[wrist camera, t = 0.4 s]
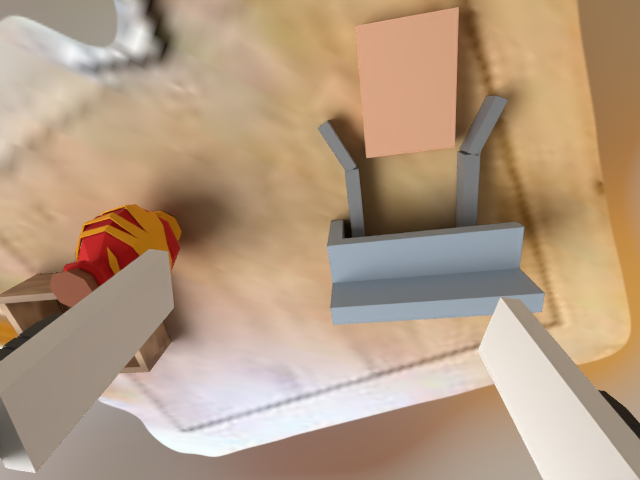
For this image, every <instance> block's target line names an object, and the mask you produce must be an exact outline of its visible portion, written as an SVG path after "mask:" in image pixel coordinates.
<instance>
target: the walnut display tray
mask: <svg viewBox="0 0 640 480" xmlns="http://www.w3.org/2000/svg"><path fill="white" fill-rule="evenodd" d="M53 274H57V273H50V274H40V275H35V276H33V277H31V278H29V279H27V280H26V281H24V282H22V283H20V284H18V285H17V286H15V287H13V288H11V289H9V290H7V291H6V292H4V293H2V294H0V307H1V309H2V310H3V312H4V313H5V315H6V317H7V318H8V320H9V321H10V323H11V324H12V326H13V327H14V329H15V330H16V332H17V333H18V335H19V334H21V333H22V332H24V331H25V330H26V329H28V328H29V327H31V326H32V325H33V324H35V323H36V322H38V321H41V320H43V319H45V318H47V317H49V316H51V315H54V314H56V313H61V314H64V313H63V312H62V310H61V308H60V306H59V304H58V303H57V301H56V299H57V298H56V296H55V295H54V294H53V292H52V291H51V289H50V288H49V287H50V282H51V277H52V275H53ZM170 343H171V340H170V338H169V336H168V333H167V331H166V328H165V326H164V324H163V322H162V323H161V324H160V325H159V326H158V328H157V329H156V330H155V331H154V332H153V334H152V335H151V336H150V337H149V338H148V340H147V341H146V342H145V343H144V344H143V346H142V347H141V348H140V349H139V350H138V352H137V353H136V354H135V355H134V356H133V358H132V359H131V360H130V361H129V362H128V364H127V365H126V366H125V367H124V368H123V370H122V371H121V372H120V373H136V372H150V370H151V369H152V368H153V366H154V365H155V364H156V362H157V361H158V360H159V358H160V357H161V356H162V354H163V353H164V351H165V350H166V349H167V347H168V346H169V345H170Z"/></svg>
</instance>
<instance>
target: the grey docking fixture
mask: <svg viewBox="0 0 640 480" xmlns="http://www.w3.org/2000/svg"><path fill="white" fill-rule="evenodd" d="M507 101H508V100H507V99H504V98H502V97H499V96H486V98H485V100H484V102H483V104H482V106H481V108H480V110H479V112H478V114H477V116H476V118H475V120H474V122H473V124H472V126H471V128H470V130H469V131H468V133H467V135H466V137H465V139H464V141H463V143H462V145H461V147H460V149H461V150H463V151H460V152H458V154H457V194H456V228H447V229H437V230H427V231H416V232H406V233H396V234H386V235H376V236H366V237H365V230H364V220H363V210H362V199H361V189H360V179H359V168H358V165H356V162H355V160H354V159H353V157H352V156H351V154H350V153H349V151H348V149H347V148H346V146H345V145H344V143H343V142H342V140H341V139H340V137H339V135H338V134H337V132H336V131H335V129H334V128H333V126H332V124H331V123H330V121H329V120H328V121H327V122H325V123H324V124H323V125H321V126H320V127H319V128H318V130H319V131H320V133H321V134H322V136H323V137H324V139H325V140H326V142H327V143H328V145H329V146H330V148H331V149H332V151H333V152H334V154H335V155H336V157H337V159H338V160H339V162H340V163H341V165H342V166H343V168H344V169H345V177H346V186H347V195H348V203H349V212H350V221H351V230H352V238H346V239H345V232H344V224H343V220H336V221H331V225H330V231H329V237H328V244H327V249H328V255H329V262H330V269H331V275H332V282H333V286H332V296H331V307H330V309H331V315H332V321H333V325H338V324H354V323H371V322H387V321H403V320H420V319H436V318H452V317H469V316H485V315H493V313H494V311H495V309H496V306H497V304H498V302H499V299H500V297H506V298H513V299H520V300H521V301H522V302H523V303H524V304H525V305H526V306H527V308H528V309H529V310H530V311H531V312H532V313H534V312H542V308H543V302H544V296H545V293H544V292H543V291H542V290H541V289H540V288H539V287H538V286H537V285H536V284H535V283H534V282H533V281H532V280H531V279H530V278H529V277H528V276H527V275H526V274H525V273H524V272H523V271H522V270H521V269H520V260H521V252H522V243H523V235H524V226H522V225H521V224H519V223H518V222H507V223H497V224H487V225H477V208H478V189H479V171H480V152H481V150H482V148H483V146H484V144H485V142H486V141H487V139H488V137H489V135H490V133H491V131H492V129H493V127H494V126H495V124H496V122H497V120H498V118H499V116H500V114H501V113H502V111H503V109H504V107H505V105H506V103H507Z"/></svg>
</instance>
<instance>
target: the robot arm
mask: <svg viewBox="0 0 640 480" xmlns="http://www.w3.org/2000/svg"><path fill="white" fill-rule="evenodd" d="M173 309H174V300H173V291H172V282H171V273H170V264H169V255H168V251H161V250H154V249H149V250H147V251H146V252H145V253H143V254H142V255H141V256H139V257H138V258H137V259H135V260H134V261H133V262H131V263H130V264H129V265H128V266H126V267H125V268H124V269H122V270H121V271H120V272H118V273H117V274H116V275H114V276H113V277H112V278H110V279H109V280H108V281H106V282H105V283H104V284H102V285H101V286H100V287H98V288H97V289H96V290H94V291H93V292H92V293H90V294H89V295H88V296H86V297H85V298H84V299H82V300H81V301H80V302H78V303H77V304H76V305H74V306H73V307H72V308H70V309H69V310H68V311H66V312H65V313H64V314H61V313H56V314H54V315H51V316H49V317H47V318H45V319H43V320H41V321H38V322H36V323H35V324H33V325H32V326H31V327H29V328H28V329H26V330H25V331H24V332H22V333H21V334H19V335H18V338H14V339H12V340H11V341H10V342H8V343H7V344H5V345H4V346H3V348H2V349H0V458H1V459H2V462H3V464H4V465H5V467H6V468H9V469H15V470H21V471H27V472H33V473H36V472H37V471H38V470H39V469H40V468H41V466H42V465H43V464H44V463H45V462H46V460H47V459H48V458H49V457H50V456H51V454H52V453H53V452H54V451H55V450H56V448H57V447H58V446H59V445H60V444H61V442H62V441H63V440H64V439H65V438H66V436H67V435H68V434H69V433H70V432H71V430H72V429H73V428H74V427H75V426H76V424H77V423H78V422H79V421H80V420H81V419H82V417H83V416H84V415H85V414H86V413H87V411H88V410H89V409H90V407H92V405H93V404H94V403H95V402H96V401H97V399H98V398H99V397H100V396H101V395H102V393H103V392H104V391H105V390H106V389H107V387H108V386H109V385H110V384H111V383H112V381H113V380H114V379H115V378H116V377H117V375H118V374H119V373H120V372H121V371H122V370H123V368H124V367H125V366H126V365H127V364H128V362H129V361H130V360H131V359H132V358H133V356H134V355H135V354H136V353H137V352H138V350H139V349H140V348H141V347H142V346H143V344H144V343H145V342H146V341H147V340H148V338H149V337H150V336H151V335H152V334H153V332H154V331H155V330H156V329H157V328H158V326H159V325H160V324H161V323H162V322H163V320H164V319H165V318H166V317H167V316H168V315H169V313H170V312H171V311H172V310H173ZM478 352H479V354H480V356H481V358H482V360H483V362H484V364H485V366H486V368H487V370H488V372H489V374H490V376H491V378H492V380H493V382H494V384H495V386H496V387H497V389H498V391H499V393H500V395H501V397H502V399H503V401H504V403H505V405H506V407H507V409H508V411H509V413H510V415H511V417H512V419H513V421H514V423H515V425H516V427H517V429H518V431H519V433H520V435H521V437H522V439H523V441H524V442H525V445H526V447H527V449H528V450H529V452H530V454H531V456H532V458H533V460H534V462H535V464H536V466H537V468H538V470H539V472H540V474H541V476H542V478H543V480H640V423H639V422H638V421H637V420H636V419H635V418H634V416H633V415H632V414H631V413H630V412H629V411H628V410H627V409H626V408H625V407H624V406H623V405H622V404H620V403H619V402H618V401H617V400H615V399H614V398H613V397H611V396H610V395H609V394H608V393H607V392H605V391H600V390H597V389H596V388H595V386H593V384H592V383H591V382H590V381H589V379H588V378H587V377H586V376H585V375H584V373H583V372H582V371H581V370H580V369H579V368H578V366H577V365H576V364H575V363H574V362H573V361H572V359H571V358H570V357H569V356H568V355H567V354H566V352H565V351H564V350H563V349H562V348H561V346H560V345H559V344H558V343H557V342H556V341H555V339H554V338H553V337H552V336H551V335H550V334H549V332H548V331H547V330H546V329H545V328H544V326H543V325H542V324H541V323H540V322H539V321H538V319H537V318H536V317H535V316H534V315H533V314H532V312H531V311H530V310H529V309H528V308H527V306H526V305H525V304H524V303H523V302H522V301H521V300H520V299H513V298H506V297H500V299H499V302H498V304H497V306H496V309H495V311H494V313H493V316H492V318H491V321H490V323H489V325H488V328H487V330H486V333H485V335H484V337H483V340H482V342H481V344H480V347H479V349H478Z"/></svg>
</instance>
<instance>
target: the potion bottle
mask: <svg viewBox="0 0 640 480" xmlns="http://www.w3.org/2000/svg"><path fill="white" fill-rule="evenodd" d="M124 208H125V209H124ZM121 209H122V210H121ZM181 233H182V231H181V229H180V227H179V225H178V223H177V221H176V219H175V218H174V217H172V216H170V215H168V214H167V213H165V212H163V211H161V210H160V211H157V212H153V211H147V210H144V209H142V208H141V207H139V206H138V205H136V204H135V205H125V206H121V207H118V208H115V209H112V210H109V211H106V212H103V213H101V216H97V217H96V218H95V219H93V220H91V221H88V222H86V223H85V224H83V227H82V230H81V234H80V237H79V241H78V245H77V248H76V252H75V254H76V260H77V262H74V263H70V264H66V265H65V267H64V271H63V272H61V273H57V274H53V275H52V277H51V282H50V287H49V288H50V289H51V291H52V292H53V294H54V295H55V296H56V298H57V299H58V301H59V302H60V303H63V304H65V305H67V306H69V307H71V308H72V307H73V306H74V305H76V304H77V303H78V302H80V301H81V300H82V299H84V298H85V297H86V296H88V295H89V294H90V293H92V292H93V291H94V290H96V289H97V288H98V287H100V286H101V285H102V284H104V283H105V282H106V281H108V280H109V279H110V278H112V277H113V276H114V275H116V274H117V273H118V272H120V271H121V270H122V269H124V268H125V267H126V266H128V265H129V264H130V263H131V262H133V261H134V260H135V259H137V258H138V257H139V256H141V255H142V254H143V253H145V252H146V251H147V250H149V249H154V250H161V251H168V255H169V264H170V273H171V270H172V267H173V265H174V262H175V260H176V257H177V255H178V252H179V250H180V246H179V243H178V241H179V239H180V236H181ZM82 239H83V240H82ZM81 243H82V245H81ZM80 246H81V249H80Z"/></svg>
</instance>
